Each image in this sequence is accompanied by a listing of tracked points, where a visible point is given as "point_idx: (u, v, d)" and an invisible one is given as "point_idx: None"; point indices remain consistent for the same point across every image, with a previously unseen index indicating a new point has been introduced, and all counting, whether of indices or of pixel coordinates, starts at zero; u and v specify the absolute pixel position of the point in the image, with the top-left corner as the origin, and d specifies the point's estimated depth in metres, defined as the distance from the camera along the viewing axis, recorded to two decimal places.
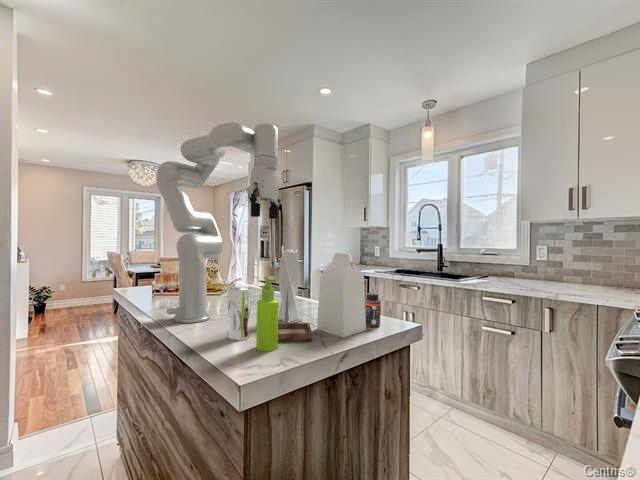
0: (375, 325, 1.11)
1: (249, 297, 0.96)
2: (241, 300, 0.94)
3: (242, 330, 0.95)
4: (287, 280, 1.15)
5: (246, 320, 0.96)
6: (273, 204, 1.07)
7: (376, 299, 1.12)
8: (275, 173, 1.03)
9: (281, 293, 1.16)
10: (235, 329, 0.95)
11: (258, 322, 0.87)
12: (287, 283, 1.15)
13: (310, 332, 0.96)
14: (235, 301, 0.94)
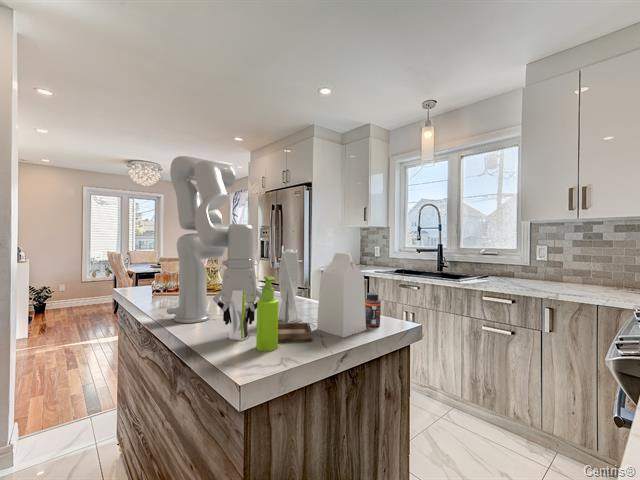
0: (375, 325, 1.11)
1: None
2: (241, 300, 0.94)
3: (242, 330, 0.95)
4: (287, 280, 1.15)
5: (246, 320, 0.96)
6: None
7: (376, 299, 1.12)
8: None
9: (281, 293, 1.16)
10: (235, 329, 0.95)
11: (258, 322, 0.87)
12: (287, 283, 1.15)
13: (310, 332, 0.96)
14: (235, 301, 0.94)
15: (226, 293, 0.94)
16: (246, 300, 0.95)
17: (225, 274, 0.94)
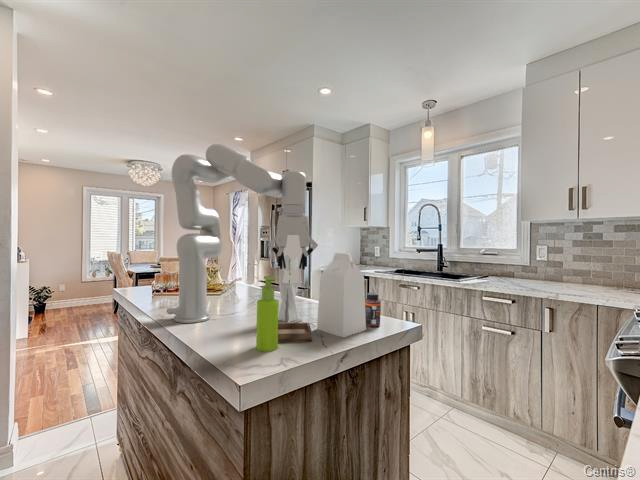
0: (375, 325, 1.11)
1: None
2: (296, 244, 0.97)
3: (296, 274, 0.98)
4: None
5: (300, 265, 0.99)
6: None
7: (376, 299, 1.12)
8: None
9: (281, 293, 1.16)
10: (290, 273, 0.97)
11: (258, 322, 0.87)
12: None
13: (310, 332, 0.96)
14: (291, 245, 0.96)
15: (281, 238, 0.97)
16: (301, 245, 0.97)
17: (280, 219, 0.97)
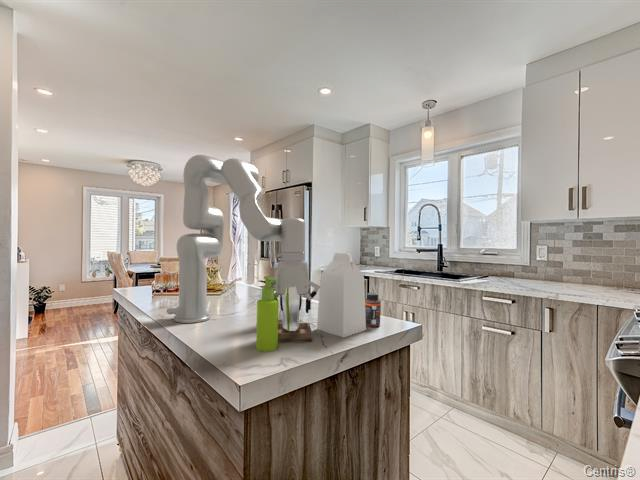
0: (375, 325, 1.11)
1: None
2: (294, 296, 0.97)
3: (295, 325, 0.98)
4: None
5: (298, 316, 0.99)
6: None
7: (376, 299, 1.12)
8: None
9: None
10: (288, 325, 0.97)
11: (258, 322, 0.87)
12: None
13: (310, 332, 0.96)
14: (289, 298, 0.97)
15: (281, 285, 0.97)
16: (300, 292, 0.97)
17: (280, 267, 0.97)
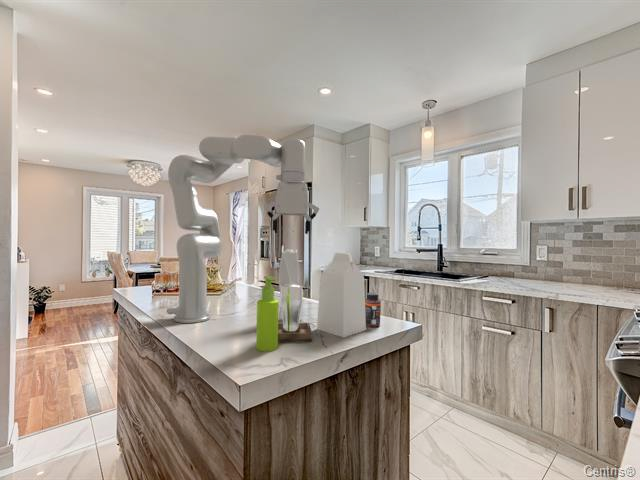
0: (375, 325, 1.11)
1: (301, 293, 0.99)
2: (295, 296, 0.97)
3: (295, 325, 0.98)
4: (287, 280, 1.15)
5: (298, 316, 0.99)
6: None
7: (376, 299, 1.12)
8: None
9: None
10: (288, 324, 0.97)
11: (258, 322, 0.87)
12: (287, 283, 1.15)
13: (310, 332, 0.96)
14: (289, 297, 0.97)
15: (281, 204, 0.98)
16: (299, 211, 0.98)
17: (280, 186, 0.98)
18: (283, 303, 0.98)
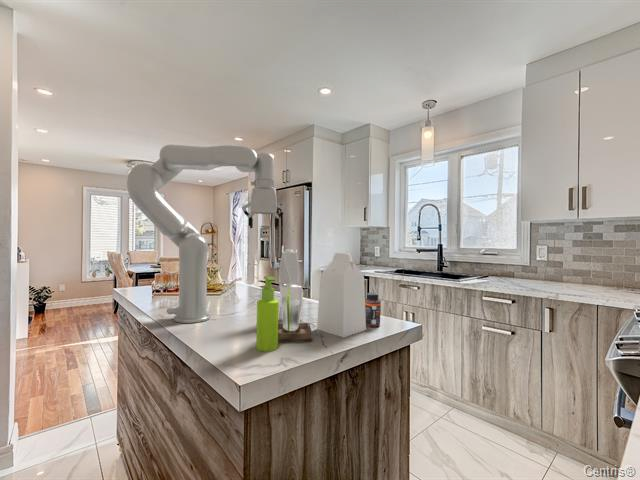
0: (375, 325, 1.11)
1: (301, 294, 0.99)
2: (295, 296, 0.97)
3: (295, 326, 0.98)
4: (287, 280, 1.15)
5: (298, 316, 0.99)
6: None
7: (376, 299, 1.12)
8: None
9: None
10: (288, 325, 0.97)
11: (258, 322, 0.87)
12: (287, 283, 1.15)
13: (310, 332, 0.96)
14: (289, 298, 0.97)
15: (254, 205, 1.23)
16: (269, 211, 1.24)
17: (253, 190, 1.23)
18: (283, 303, 0.97)
